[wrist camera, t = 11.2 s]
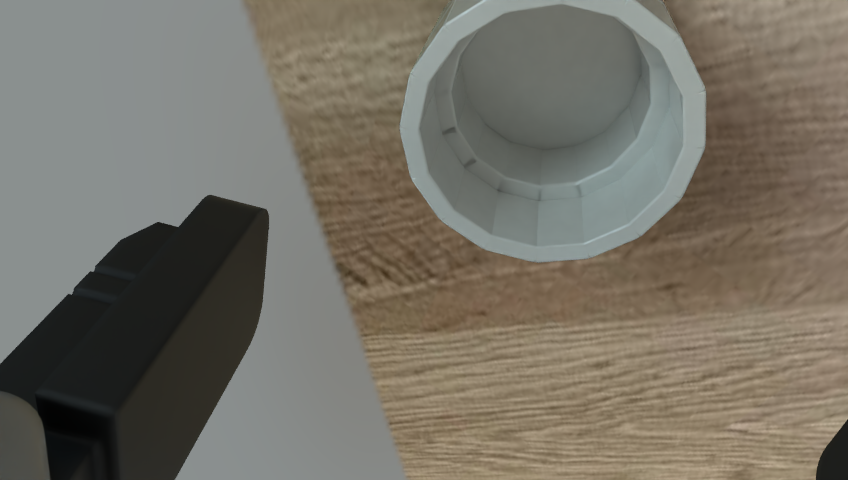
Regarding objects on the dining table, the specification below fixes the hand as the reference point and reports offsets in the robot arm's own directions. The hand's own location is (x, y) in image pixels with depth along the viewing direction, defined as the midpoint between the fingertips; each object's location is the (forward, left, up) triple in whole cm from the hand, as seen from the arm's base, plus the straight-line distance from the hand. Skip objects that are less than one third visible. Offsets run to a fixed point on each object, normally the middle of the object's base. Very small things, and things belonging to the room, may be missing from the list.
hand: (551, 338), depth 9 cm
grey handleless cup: (0, 0, -12) cm, 12 cm away
